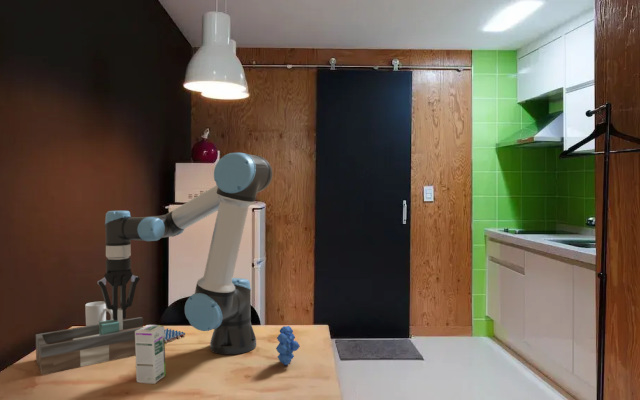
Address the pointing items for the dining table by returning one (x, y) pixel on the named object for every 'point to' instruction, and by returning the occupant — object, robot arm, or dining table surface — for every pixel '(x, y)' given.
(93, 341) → the track
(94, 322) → the mug
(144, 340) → the syrup box
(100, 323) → the block
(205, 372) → the dining table surface
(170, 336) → the woven mat
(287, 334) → the grapes
